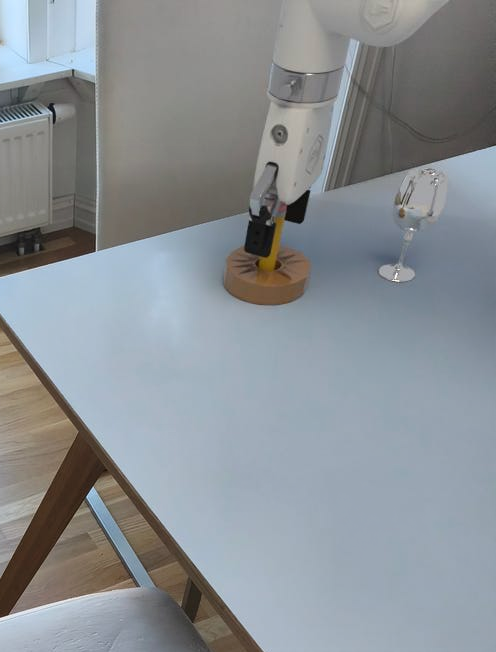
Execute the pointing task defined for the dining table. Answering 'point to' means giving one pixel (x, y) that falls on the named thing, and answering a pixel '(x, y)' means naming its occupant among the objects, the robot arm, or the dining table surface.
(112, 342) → the dining table surface
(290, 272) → the brown sunburst ring
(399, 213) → the wineglass
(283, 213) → the pencil
